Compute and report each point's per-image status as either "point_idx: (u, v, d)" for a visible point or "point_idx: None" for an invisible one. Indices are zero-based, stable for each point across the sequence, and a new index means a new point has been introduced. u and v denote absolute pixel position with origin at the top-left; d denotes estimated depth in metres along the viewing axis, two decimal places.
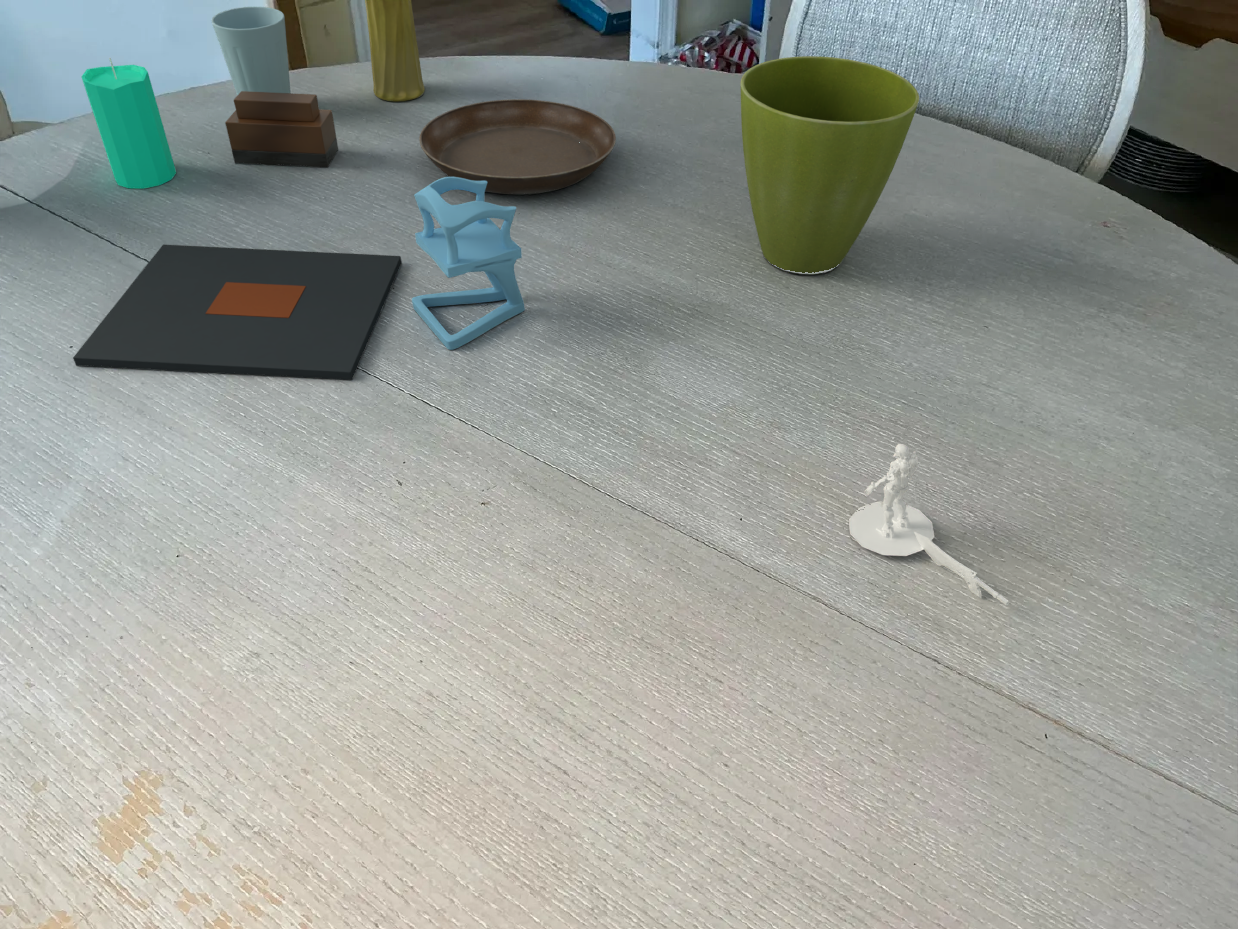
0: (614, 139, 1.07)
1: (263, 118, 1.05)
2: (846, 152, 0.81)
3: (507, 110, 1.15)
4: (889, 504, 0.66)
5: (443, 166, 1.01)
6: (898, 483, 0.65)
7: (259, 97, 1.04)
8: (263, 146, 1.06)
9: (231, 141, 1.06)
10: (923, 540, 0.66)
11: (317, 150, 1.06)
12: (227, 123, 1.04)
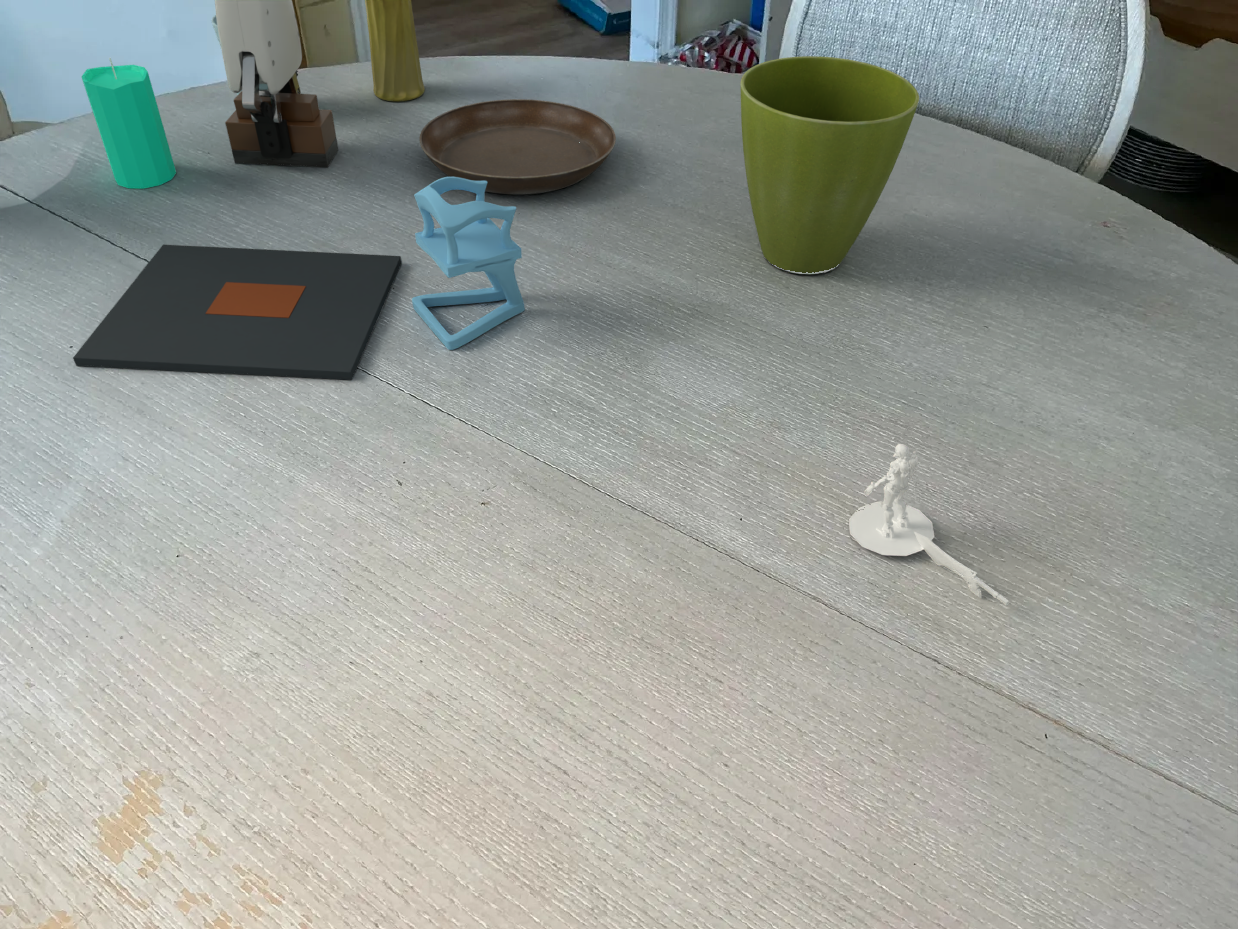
0: (614, 139, 1.07)
1: None
2: (846, 152, 0.81)
3: (507, 110, 1.15)
4: (889, 504, 0.66)
5: (443, 166, 1.01)
6: (898, 483, 0.65)
7: None
8: None
9: (231, 141, 1.06)
10: (923, 540, 0.66)
11: (317, 150, 1.06)
12: (227, 123, 1.04)
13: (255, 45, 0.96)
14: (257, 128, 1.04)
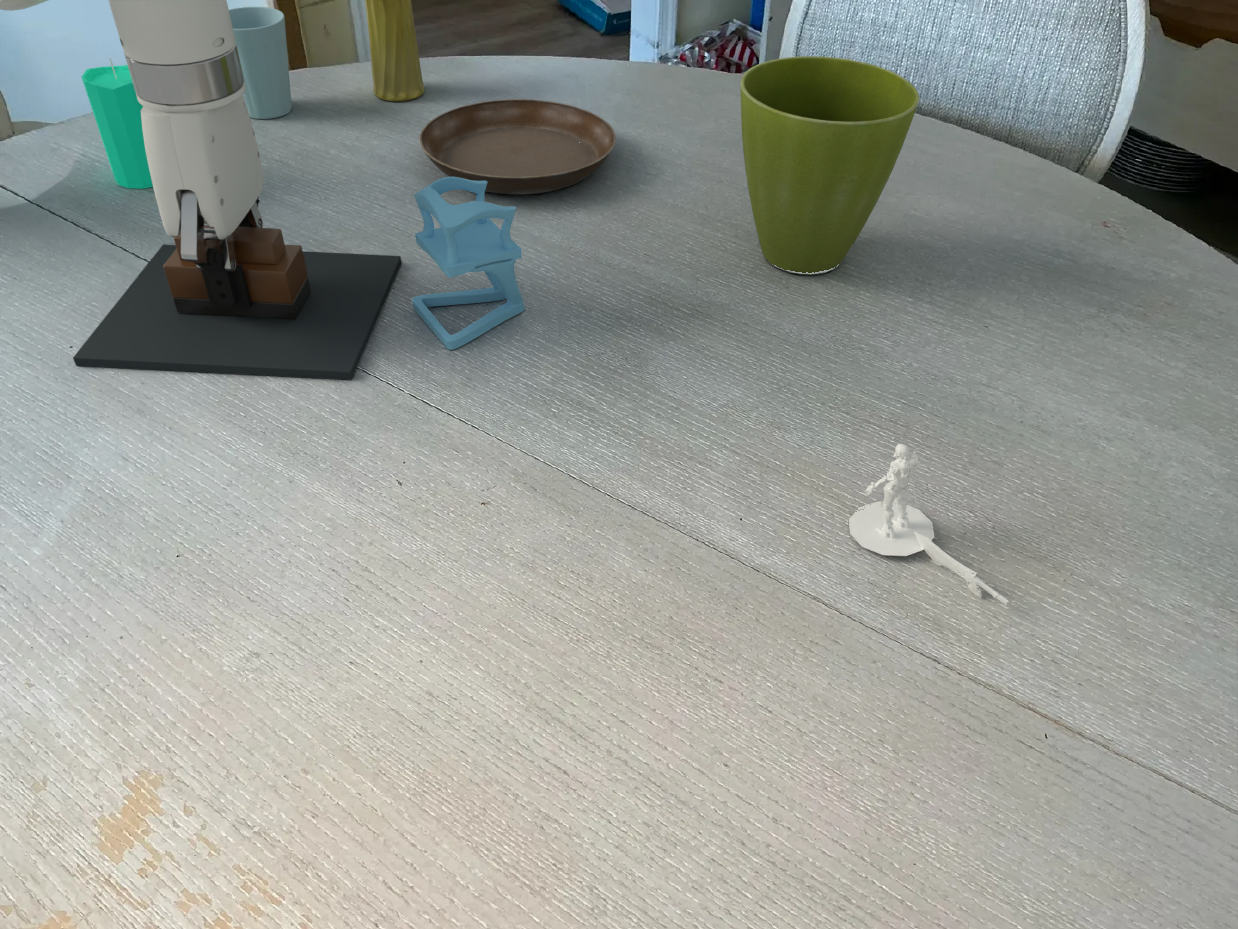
0: (614, 139, 1.07)
1: None
2: (846, 152, 0.81)
3: (507, 110, 1.15)
4: (889, 504, 0.66)
5: (443, 166, 1.01)
6: (898, 483, 0.65)
7: None
8: None
9: (172, 288, 0.82)
10: (923, 540, 0.66)
11: (282, 299, 0.83)
12: (166, 267, 0.81)
13: (197, 182, 0.73)
14: (205, 276, 0.81)
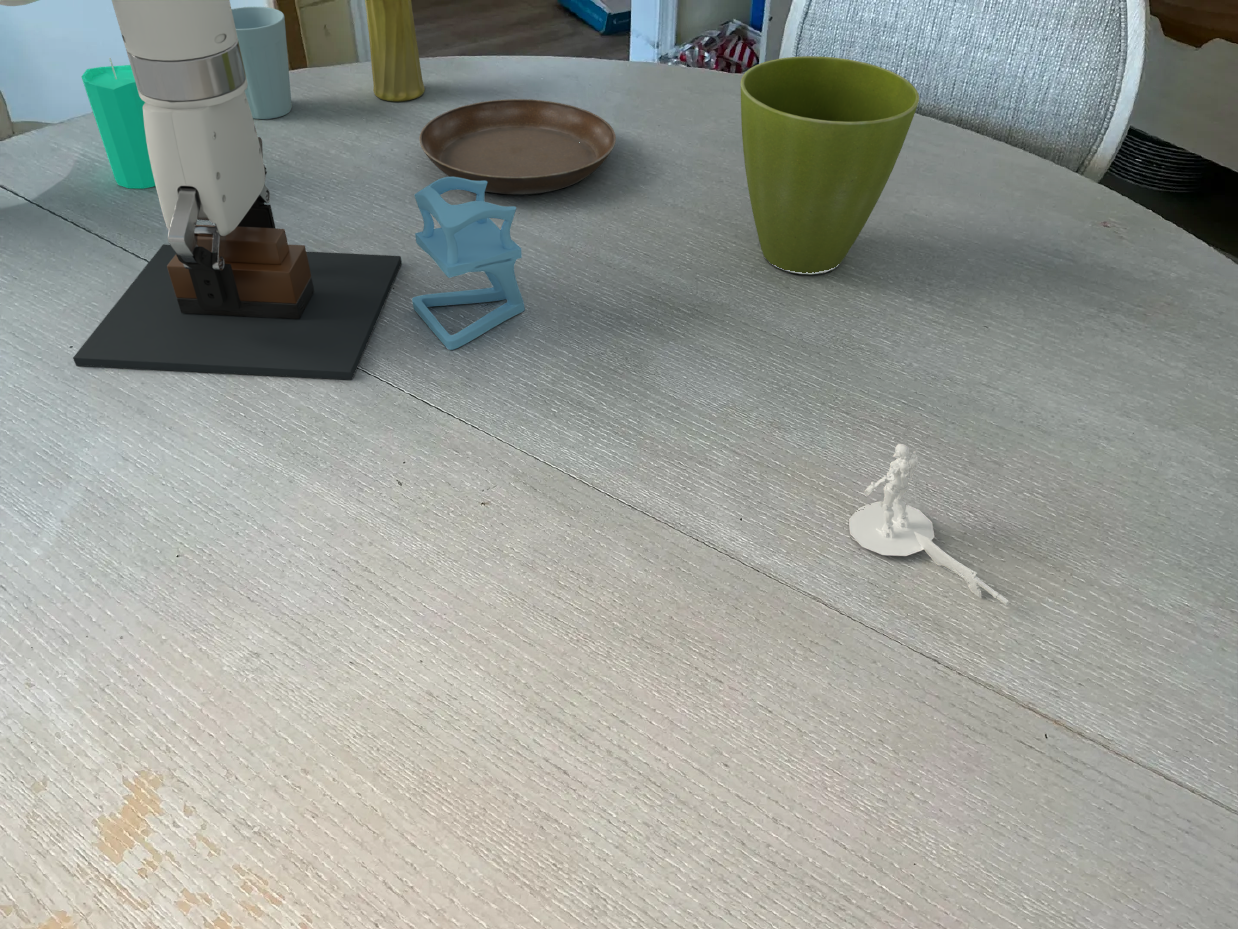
0: (614, 139, 1.07)
1: None
2: (846, 152, 0.81)
3: (507, 110, 1.15)
4: (889, 504, 0.66)
5: (443, 166, 1.01)
6: (898, 483, 0.65)
7: None
8: None
9: (175, 288, 0.82)
10: (923, 540, 0.66)
11: (286, 299, 0.83)
12: (169, 267, 0.81)
13: (199, 178, 0.73)
14: (192, 275, 0.78)
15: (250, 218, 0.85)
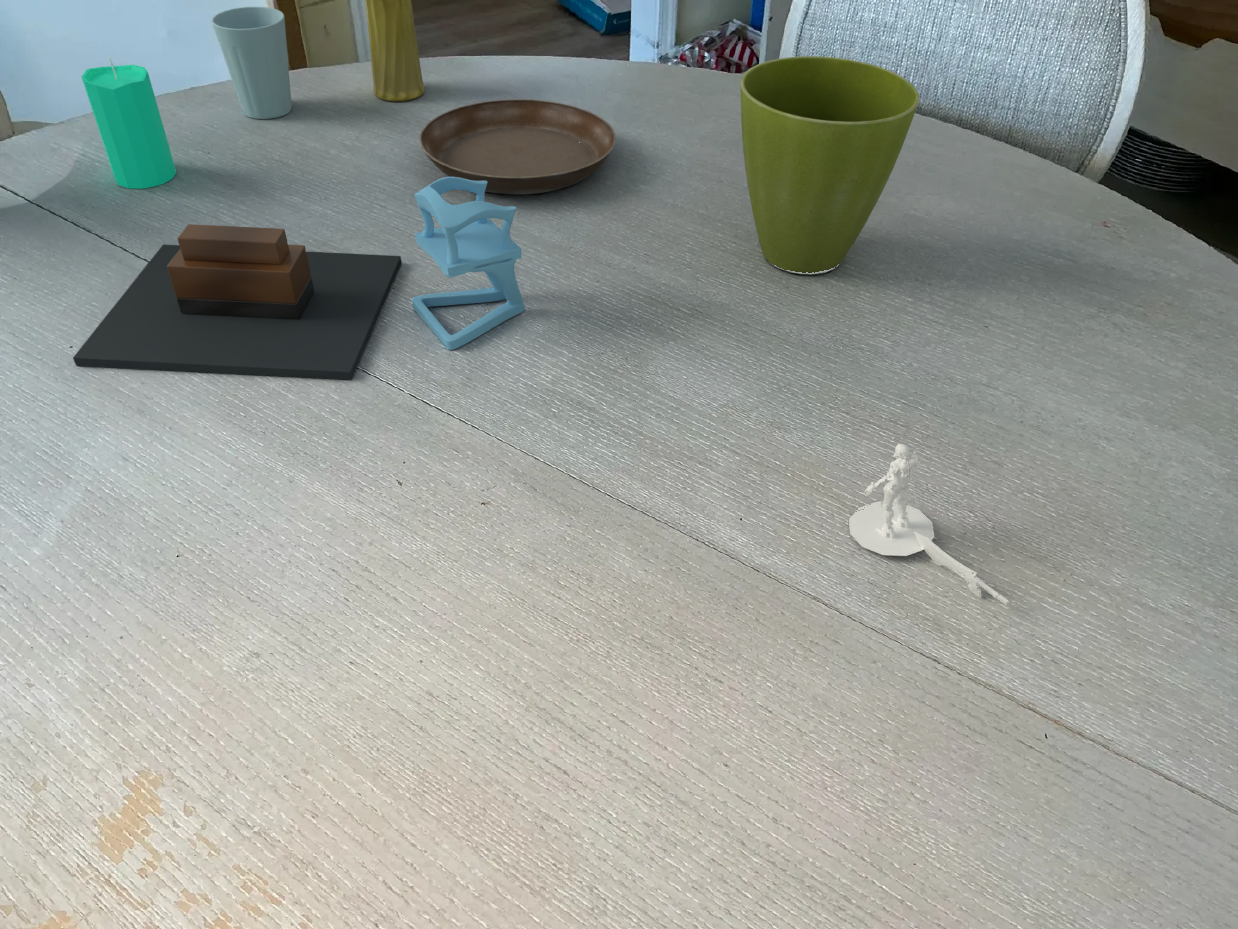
0: (614, 139, 1.07)
1: (216, 260, 0.82)
2: (846, 152, 0.81)
3: (507, 110, 1.15)
4: (889, 504, 0.66)
5: (443, 166, 1.01)
6: (898, 483, 0.65)
7: (210, 234, 0.81)
8: (217, 294, 0.83)
9: (175, 288, 0.82)
10: (923, 540, 0.66)
11: (286, 299, 0.83)
12: (169, 267, 0.81)
13: None
14: None
15: None
